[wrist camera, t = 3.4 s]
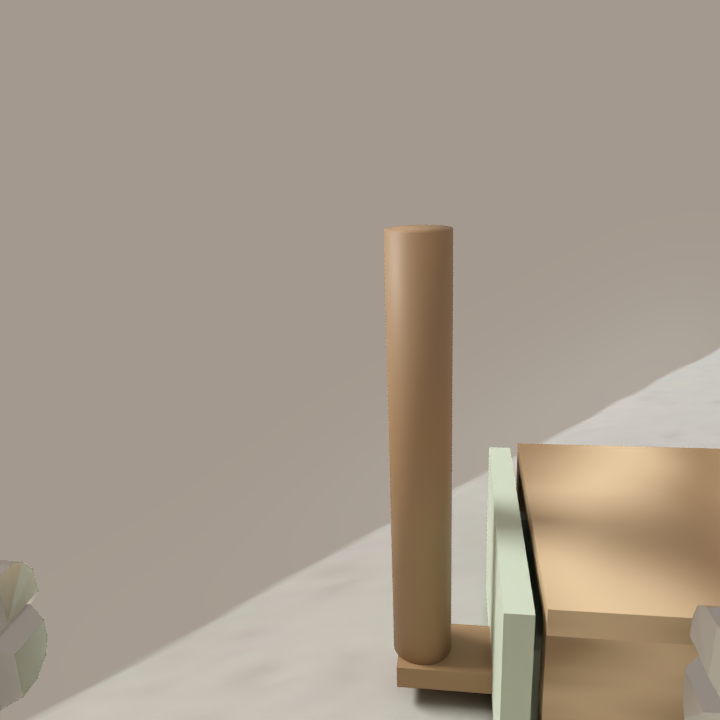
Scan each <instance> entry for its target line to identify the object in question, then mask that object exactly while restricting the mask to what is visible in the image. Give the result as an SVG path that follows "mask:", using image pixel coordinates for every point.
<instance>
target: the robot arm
mask: <svg viewBox="0 0 720 720" xmlns="http://www.w3.org/2000/svg"><path fill="white" fill-rule="evenodd" d="M37 592H38V587H37V583H36V579H35V575H34V571H33V568H31V567H30V566H28V565H26V564H25V563H23V562H17V561H6V560H0V710H2V709H4V708H6V707H7V706H9V705H11V704H12V703H14V702H16V701H18V700H19V699H21V698H23V697H24V696H25V694H26V693H27V692H28V690H29V689H30V687H31V686H32V685H33V683H34V682H35V681H36V679H37V677H38V675H39V672H40V670H41V667H42V664H43V662H44V659H45V656H46V647H47V633H46V627H45V621H44V619H43V618H42V617H41V616H40V615H39V614H38V612H37V611H36V610H35V609H34V608H33V607H32V606H31V602H32V600H33V599H34V597H35V595H36V593H37ZM690 637H691V639H692V642H693V644H694V646H695V648H696V651H697V653H698V655H699V656H698V657H697V658H696V659H694V660H693V661H692V662H691V663H690V664H689V665H688V666H687V667H686V668H685V673H684V683H683V707H684V720H720V606H706V605H698V606H697V608H696V610H695V612H694V615H693V617H692V624H691V630H690Z"/></svg>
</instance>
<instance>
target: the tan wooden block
mask: <svg viewBox="0 0 720 720" xmlns="http://www.w3.org/2000/svg"><path fill="white" fill-rule="evenodd" d="M516 491H517V497H518V504H519V511H522V512H526V517H527V523H528V529H529V535H530V541H531V547H532V553H533V558H534V564H535V570H536V576H537V582H538V588H539V594H540V600H541V606H542V612H543V626H542V644H541V663H540V681H539V700H538V718H537V720H684V707H683V683H684V673H685V668H686V667H687V666H688V665H689V664H690V663H691V662H692V661H693V660H694V659H696V658H697V657H698V656H699V655H698V653H697V651H696V648H695V646H694V644H693V642H692V639H691V637H690V630H691V624H692V617H693V615H694V612H695V610H696V608H697V606H698V605H706V606H720V449H707V448H668V447H630V446H591V445H553V444H518V455H517V482H516Z"/></svg>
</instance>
